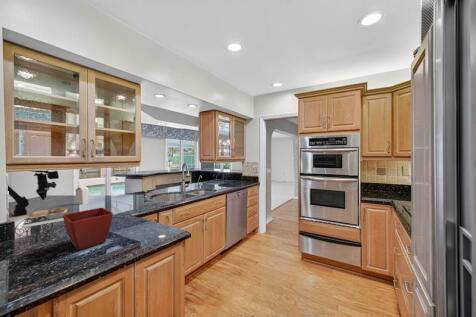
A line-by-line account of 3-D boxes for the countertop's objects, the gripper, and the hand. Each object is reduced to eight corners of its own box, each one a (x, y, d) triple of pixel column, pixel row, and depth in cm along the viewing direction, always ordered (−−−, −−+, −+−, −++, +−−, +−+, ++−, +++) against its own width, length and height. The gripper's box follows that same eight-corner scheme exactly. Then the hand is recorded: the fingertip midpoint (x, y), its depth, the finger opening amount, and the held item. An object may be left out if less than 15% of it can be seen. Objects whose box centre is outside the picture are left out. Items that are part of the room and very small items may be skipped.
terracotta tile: (33, 216, 155) (33, 214, 155) (34, 213, 163) (34, 211, 163) (47, 214, 160) (47, 212, 160) (47, 211, 168) (47, 209, 168)
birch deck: (29, 220, 152) (29, 218, 152) (31, 215, 163) (31, 213, 163) (67, 213, 167) (67, 212, 167) (66, 210, 177) (66, 208, 177)
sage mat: (21, 228, 137) (21, 227, 137) (25, 219, 153) (25, 219, 153) (71, 219, 154) (71, 218, 154) (70, 212, 170) (70, 212, 170)
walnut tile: (50, 214, 162) (50, 211, 162) (51, 211, 169) (51, 208, 169) (64, 212, 167) (63, 209, 167) (63, 209, 175) (63, 207, 174)
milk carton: (89, 203, 198) (88, 184, 197) (82, 205, 191) (82, 185, 190) (82, 203, 199) (81, 184, 198) (76, 205, 192) (75, 185, 191)
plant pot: (102, 233, 128) (102, 206, 127) (114, 241, 116) (113, 212, 115) (63, 244, 113) (62, 214, 112) (72, 255, 101) (70, 222, 100)
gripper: (54, 180, 166) (56, 199, 168) (56, 177, 181) (58, 194, 182) (35, 182, 160) (37, 201, 161) (39, 179, 174) (41, 197, 176)
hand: (44, 198), depth 170 cm, fingers open, 9 cm apart
